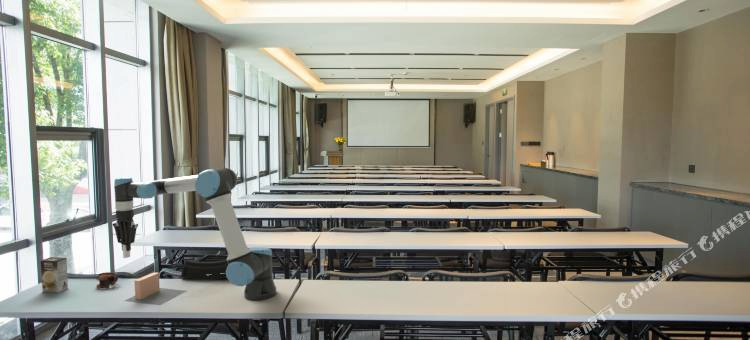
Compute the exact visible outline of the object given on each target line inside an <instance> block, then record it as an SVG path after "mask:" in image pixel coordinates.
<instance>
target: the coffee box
mask: <svg viewBox="0 0 750 340" xmlns="http://www.w3.org/2000/svg"><path fill="white" fill-rule="evenodd" d="M67 260H68V259H67V257H59V256H58V257H57V256H54V257H53V256H50V257H48V258H45V259H41V260H40V271H41V273H40V275H41V289H42V290H41V291H42V293H58V294H59V293H61V292H63V291H65V290H68V289H69V279H68V277H69V276H68V263H67V262H68V261H67Z"/></svg>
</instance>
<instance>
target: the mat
mask: <svg viewBox="0 0 750 340" xmlns="http://www.w3.org/2000/svg"><path fill="white" fill-rule="evenodd" d="M186 292H187V290H183V289H182V290H181V289H173V288H165V287H164V288H163V287H160V291H158V292H156V293H154V294H151V295H149V296H147V297H145V298H143V299H141V300H139V299H135V295H133V296H132V297H129V298H128V299H125V300H124V302H130V303H131V302H132V303H137V304H138V303H140V304H146V305H154V306H161V305H163V304H165V303H167V302H169V301H171V300H172V299H175V298H177V297H178V296H180V295H183V294H184V293H186Z"/></svg>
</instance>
